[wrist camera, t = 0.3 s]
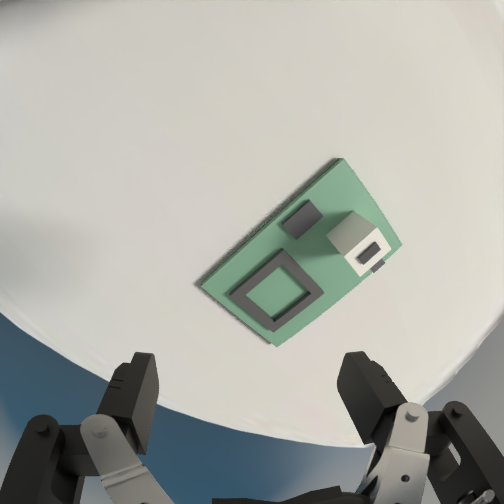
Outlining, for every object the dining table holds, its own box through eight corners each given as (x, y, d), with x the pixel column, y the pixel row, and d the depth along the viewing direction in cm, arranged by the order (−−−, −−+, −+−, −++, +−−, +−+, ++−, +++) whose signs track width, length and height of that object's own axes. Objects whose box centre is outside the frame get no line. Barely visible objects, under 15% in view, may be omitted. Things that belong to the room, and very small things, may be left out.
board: (340, 158, 29) (346, 159, 27) (398, 242, 34) (405, 247, 32) (201, 282, 34) (200, 290, 32) (275, 342, 38) (277, 351, 37)
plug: (353, 210, 30) (378, 227, 25) (370, 234, 32) (396, 255, 26) (325, 235, 31) (344, 257, 26) (344, 257, 33) (364, 283, 27)
